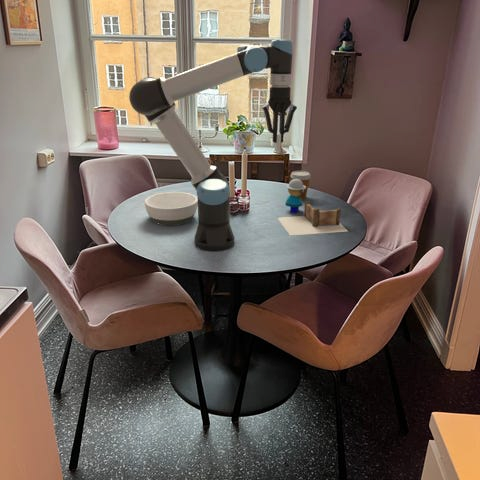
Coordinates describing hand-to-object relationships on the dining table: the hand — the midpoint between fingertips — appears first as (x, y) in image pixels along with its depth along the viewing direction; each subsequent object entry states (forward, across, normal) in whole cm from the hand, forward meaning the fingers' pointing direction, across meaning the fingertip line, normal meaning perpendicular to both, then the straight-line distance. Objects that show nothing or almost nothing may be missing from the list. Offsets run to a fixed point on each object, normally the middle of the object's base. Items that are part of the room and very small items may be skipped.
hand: (277, 151), depth 184 cm
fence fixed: (+31, +22, -1) cm, 38 cm away
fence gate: (+31, +17, +6) cm, 36 cm away
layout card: (+32, +16, +1) cm, 36 cm away
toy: (+32, +15, +18) cm, 40 cm away
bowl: (+33, -39, +21) cm, 56 cm away
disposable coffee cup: (+32, +23, +37) cm, 54 cm away
